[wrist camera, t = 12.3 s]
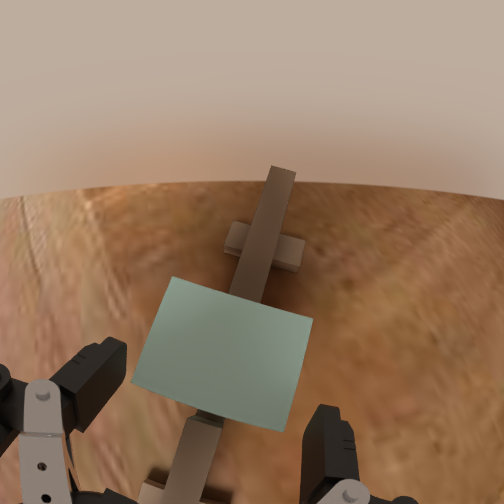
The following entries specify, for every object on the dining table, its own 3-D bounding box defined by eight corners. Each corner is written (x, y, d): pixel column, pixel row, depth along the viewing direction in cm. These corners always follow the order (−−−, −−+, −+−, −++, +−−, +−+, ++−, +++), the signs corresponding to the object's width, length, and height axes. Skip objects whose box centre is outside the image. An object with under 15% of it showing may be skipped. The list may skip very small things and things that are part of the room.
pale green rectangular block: (272, 360, 21) (313, 318, 11) (255, 418, 19) (283, 432, 9) (197, 337, 21) (172, 276, 12) (177, 394, 19) (130, 382, 10)
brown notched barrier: (302, 244, 26) (329, 182, 19) (220, 532, 14) (218, 586, 7) (233, 225, 26) (237, 157, 19) (138, 506, 15) (99, 546, 8)
